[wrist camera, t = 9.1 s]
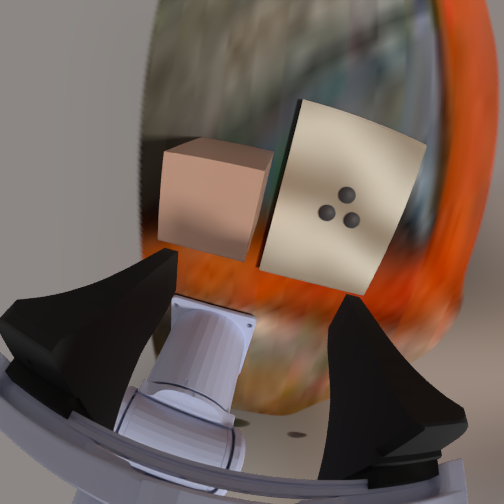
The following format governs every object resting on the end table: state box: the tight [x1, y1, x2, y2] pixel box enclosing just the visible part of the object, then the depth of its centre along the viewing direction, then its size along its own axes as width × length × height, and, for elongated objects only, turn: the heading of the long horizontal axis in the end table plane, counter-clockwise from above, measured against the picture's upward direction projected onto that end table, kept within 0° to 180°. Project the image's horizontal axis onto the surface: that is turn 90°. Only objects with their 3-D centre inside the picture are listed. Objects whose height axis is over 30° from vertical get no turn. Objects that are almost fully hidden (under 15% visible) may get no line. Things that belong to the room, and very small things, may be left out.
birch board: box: [259, 100, 427, 295], centre depth 18 cm, size 13×9×1 cm
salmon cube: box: [158, 137, 274, 262], centre depth 16 cm, size 5×5×6 cm
